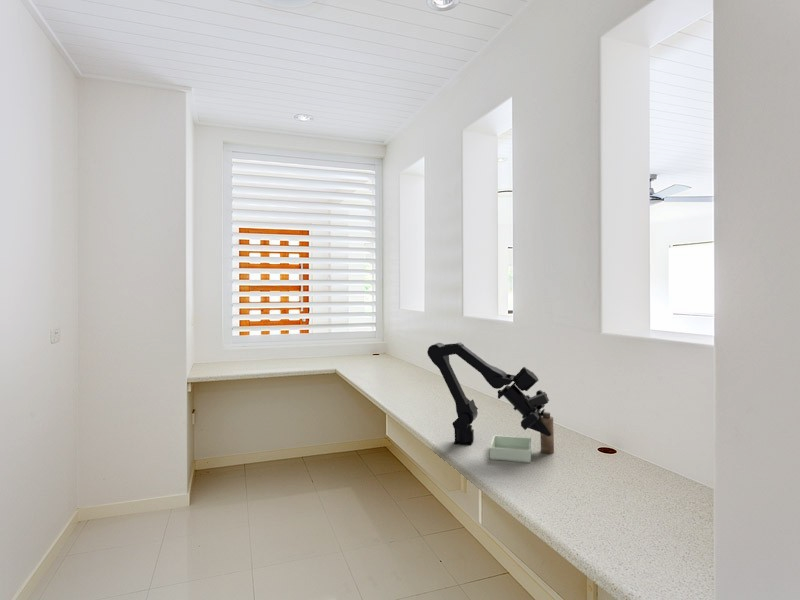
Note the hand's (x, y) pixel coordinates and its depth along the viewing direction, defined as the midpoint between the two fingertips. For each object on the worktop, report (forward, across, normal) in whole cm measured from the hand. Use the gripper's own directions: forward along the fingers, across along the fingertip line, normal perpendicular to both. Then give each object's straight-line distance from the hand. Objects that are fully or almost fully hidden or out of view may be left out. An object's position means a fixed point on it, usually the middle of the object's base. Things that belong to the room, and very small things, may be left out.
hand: (551, 433), depth 159 cm
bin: (-4, -7, +14) cm, 16 cm away
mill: (+4, 0, +6) cm, 7 cm away
